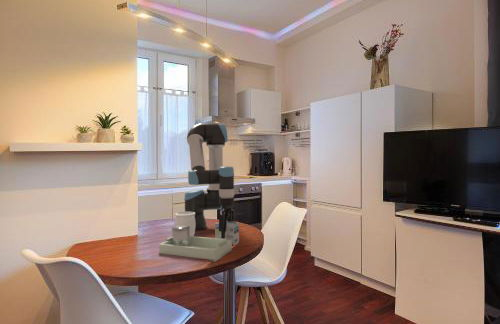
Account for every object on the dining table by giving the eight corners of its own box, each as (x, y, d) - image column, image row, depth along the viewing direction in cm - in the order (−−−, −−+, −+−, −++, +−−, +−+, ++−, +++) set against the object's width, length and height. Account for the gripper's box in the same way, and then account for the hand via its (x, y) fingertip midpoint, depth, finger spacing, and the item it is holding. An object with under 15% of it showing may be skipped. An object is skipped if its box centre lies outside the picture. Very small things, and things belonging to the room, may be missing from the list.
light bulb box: (239, 242, 158) (239, 221, 158) (234, 246, 152) (234, 224, 152) (220, 241, 162) (220, 220, 162) (214, 244, 156) (214, 223, 155)
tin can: (178, 245, 150) (178, 225, 150) (193, 247, 148) (193, 226, 147) (168, 250, 143) (168, 228, 143) (183, 252, 140) (183, 230, 140)
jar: (191, 245, 155) (190, 215, 155) (171, 244, 157) (171, 214, 157) (198, 239, 165) (198, 211, 165) (180, 238, 167) (180, 211, 167)
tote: (180, 245, 155) (180, 233, 155) (232, 250, 145) (231, 237, 145) (158, 255, 140) (158, 241, 139) (215, 262, 129) (214, 247, 129)
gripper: (228, 194, 167) (228, 237, 168) (210, 199, 149) (211, 247, 149) (241, 195, 164) (241, 238, 165) (224, 200, 146) (225, 248, 146)
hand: (227, 242), depth 157 cm, fingers closed on light bulb box, 7 cm apart
